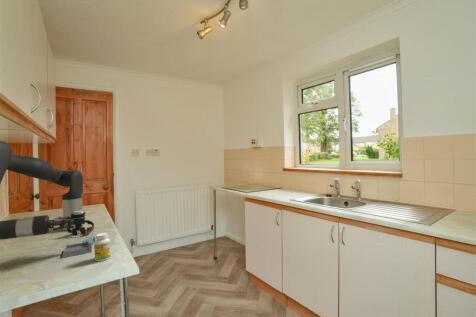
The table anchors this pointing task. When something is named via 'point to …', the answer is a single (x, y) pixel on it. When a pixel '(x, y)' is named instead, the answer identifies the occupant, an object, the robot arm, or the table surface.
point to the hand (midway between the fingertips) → (84, 219)
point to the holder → (78, 248)
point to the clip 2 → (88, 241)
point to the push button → (78, 228)
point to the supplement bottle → (102, 247)
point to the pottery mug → (89, 229)
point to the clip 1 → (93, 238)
